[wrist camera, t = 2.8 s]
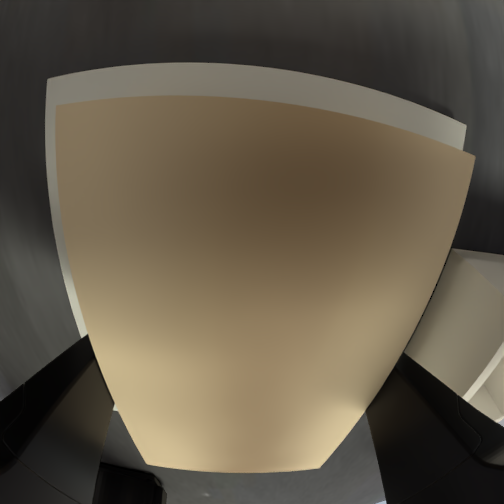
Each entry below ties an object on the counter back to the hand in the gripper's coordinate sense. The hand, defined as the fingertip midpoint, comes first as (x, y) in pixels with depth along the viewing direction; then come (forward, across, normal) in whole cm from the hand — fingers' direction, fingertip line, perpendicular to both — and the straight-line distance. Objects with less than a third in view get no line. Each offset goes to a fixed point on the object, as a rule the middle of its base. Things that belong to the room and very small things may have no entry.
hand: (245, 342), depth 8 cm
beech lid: (+1, 0, 0) cm, 1 cm away
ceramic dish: (+2, -12, +2) cm, 12 cm away
